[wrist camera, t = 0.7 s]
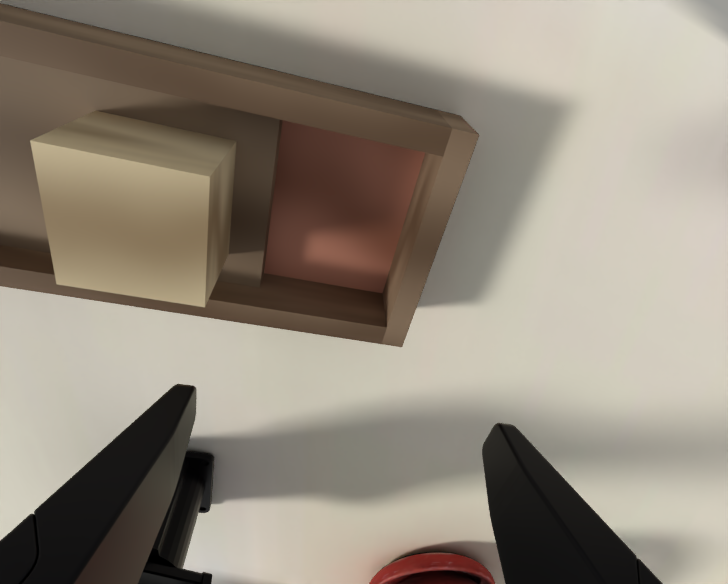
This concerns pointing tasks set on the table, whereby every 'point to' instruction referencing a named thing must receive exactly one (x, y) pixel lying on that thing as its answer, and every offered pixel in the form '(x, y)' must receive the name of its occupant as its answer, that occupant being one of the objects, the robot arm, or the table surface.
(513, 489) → the robot arm
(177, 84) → the trap channel
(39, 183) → the maple block
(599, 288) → the table surface
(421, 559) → the plant pot
